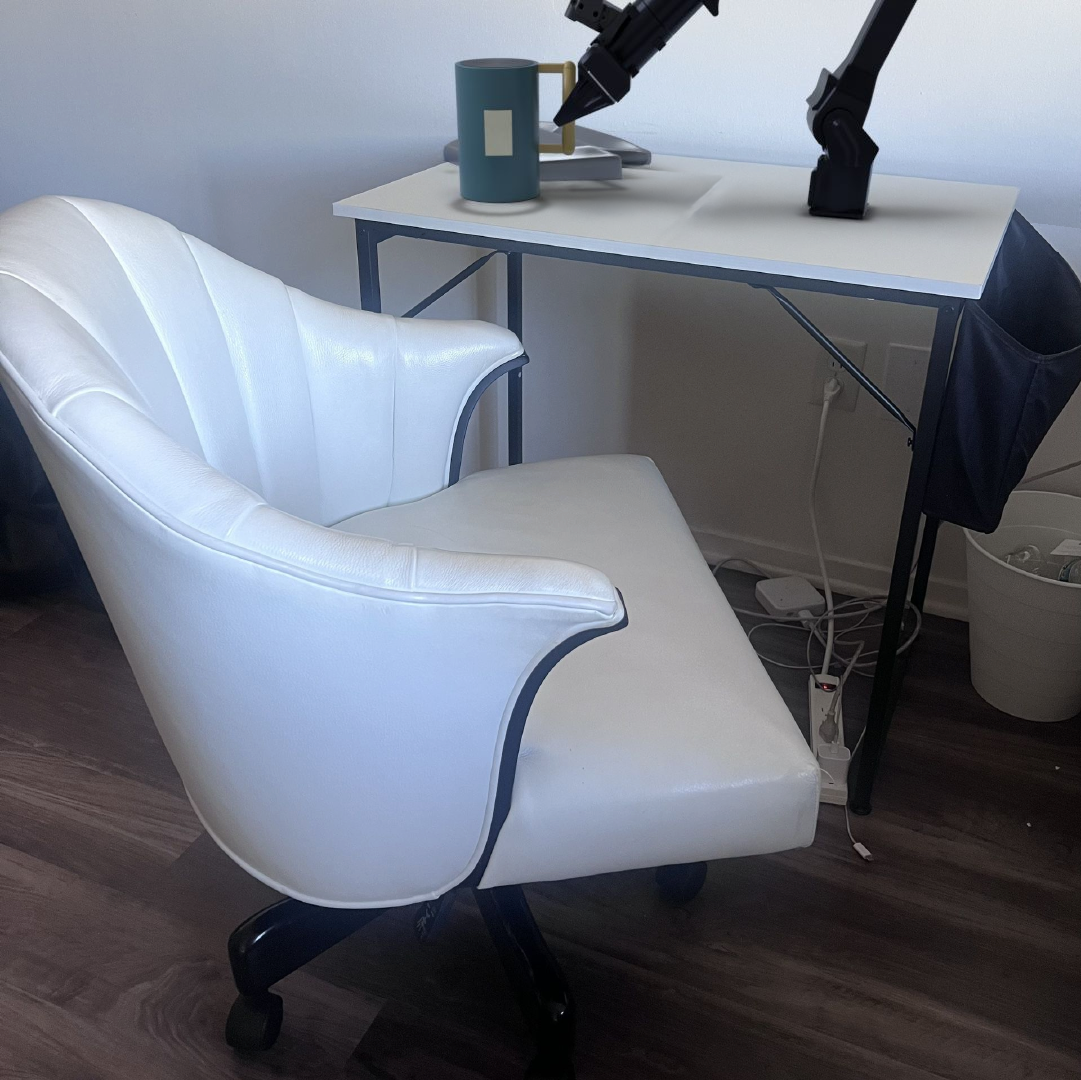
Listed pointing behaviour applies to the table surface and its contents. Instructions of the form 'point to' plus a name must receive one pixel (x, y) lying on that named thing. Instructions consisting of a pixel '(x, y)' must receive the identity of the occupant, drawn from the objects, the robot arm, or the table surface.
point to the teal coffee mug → (504, 126)
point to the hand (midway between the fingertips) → (559, 117)
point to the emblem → (579, 155)
